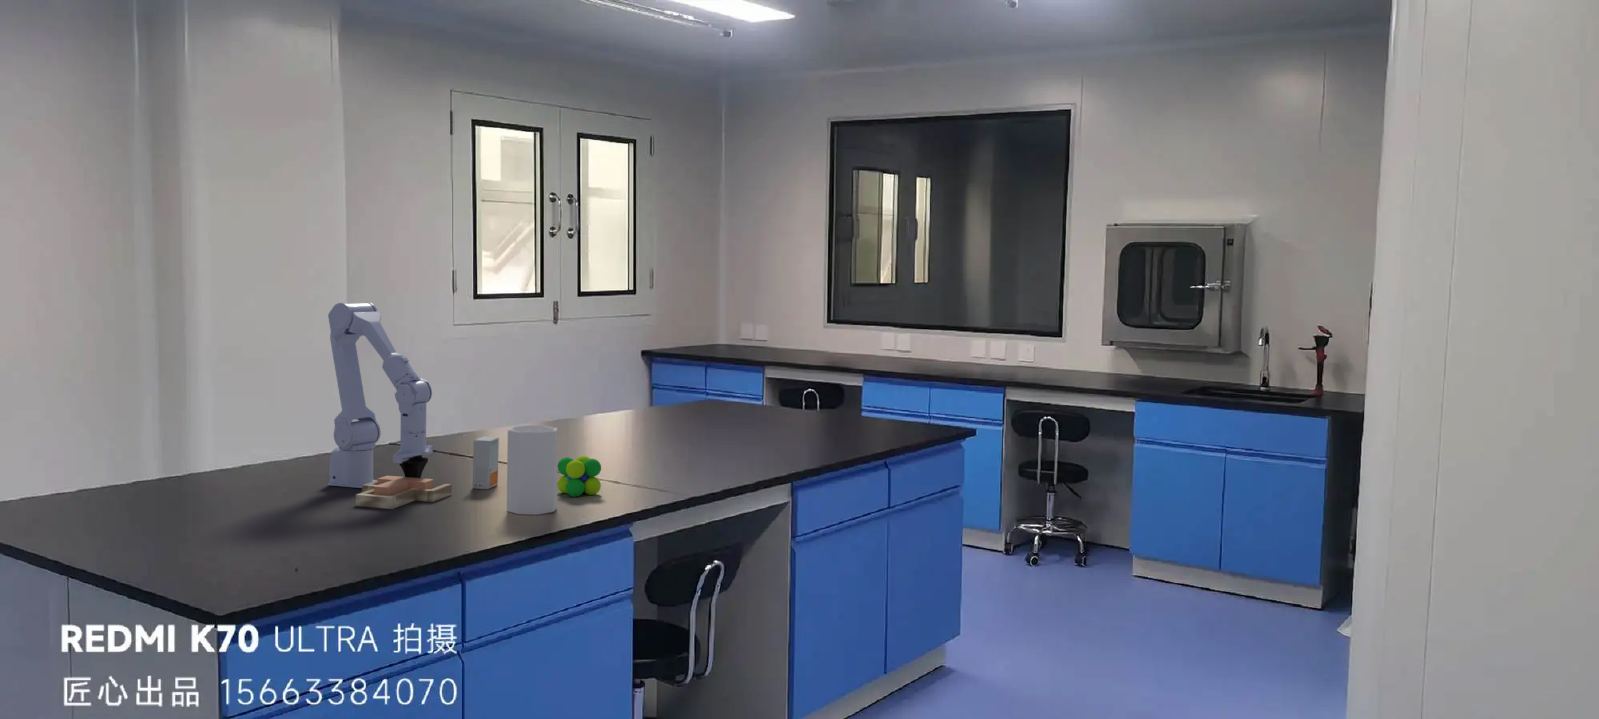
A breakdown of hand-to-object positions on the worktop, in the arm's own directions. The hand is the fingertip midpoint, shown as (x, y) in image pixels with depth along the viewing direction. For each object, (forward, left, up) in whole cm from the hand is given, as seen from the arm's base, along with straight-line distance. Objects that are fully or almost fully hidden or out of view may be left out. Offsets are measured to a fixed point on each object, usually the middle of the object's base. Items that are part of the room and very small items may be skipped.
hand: (412, 488), depth 270 cm
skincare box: (+12, +13, -1) cm, 18 cm away
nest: (0, -7, -1) cm, 7 cm away
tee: (0, -7, -1) cm, 7 cm away
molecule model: (+36, +14, -1) cm, 39 cm away
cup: (+33, -6, -1) cm, 34 cm away
